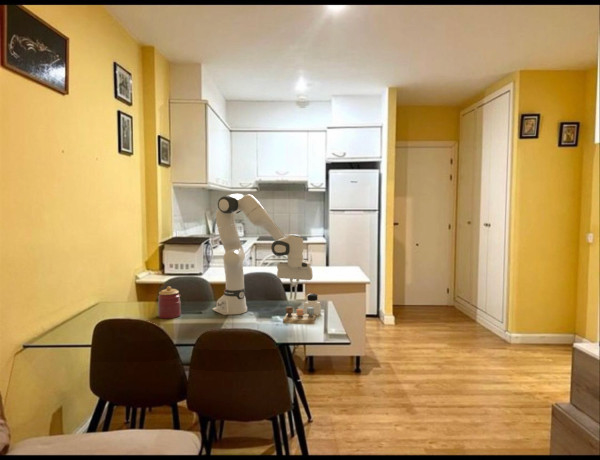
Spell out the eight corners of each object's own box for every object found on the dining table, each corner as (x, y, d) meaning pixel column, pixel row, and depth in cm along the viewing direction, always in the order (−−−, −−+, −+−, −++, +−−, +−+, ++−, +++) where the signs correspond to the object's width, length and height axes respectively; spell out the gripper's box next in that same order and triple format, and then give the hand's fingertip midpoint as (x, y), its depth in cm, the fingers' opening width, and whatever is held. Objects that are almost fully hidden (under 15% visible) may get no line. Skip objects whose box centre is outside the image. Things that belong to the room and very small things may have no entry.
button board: (283, 322, 219) (283, 318, 219) (287, 316, 231) (287, 312, 231) (313, 323, 216) (313, 320, 216) (316, 317, 228) (316, 314, 228)
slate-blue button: (306, 317, 221) (306, 308, 221) (307, 315, 225) (307, 306, 225) (313, 317, 220) (313, 309, 220) (314, 315, 224) (314, 307, 224)
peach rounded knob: (295, 319, 222) (295, 310, 222) (297, 317, 226) (297, 308, 226) (302, 319, 221) (302, 310, 221) (304, 317, 225) (303, 308, 225)
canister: (169, 311, 243) (168, 283, 242) (185, 314, 238) (185, 285, 236) (153, 317, 232) (152, 287, 230) (170, 320, 226) (169, 289, 225)
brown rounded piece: (285, 316, 223) (285, 308, 223) (286, 314, 227) (286, 306, 227) (292, 317, 222) (292, 308, 222) (293, 315, 226) (293, 306, 226)
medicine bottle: (320, 314, 235) (320, 294, 234) (313, 316, 230) (312, 296, 229) (311, 311, 240) (311, 292, 239) (304, 314, 235) (303, 294, 234)
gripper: (276, 262, 224) (275, 286, 225) (311, 264, 220) (311, 289, 221) (278, 260, 230) (277, 284, 231) (313, 262, 227) (312, 286, 228)
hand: (294, 286), depth 226 cm, fingers closed
